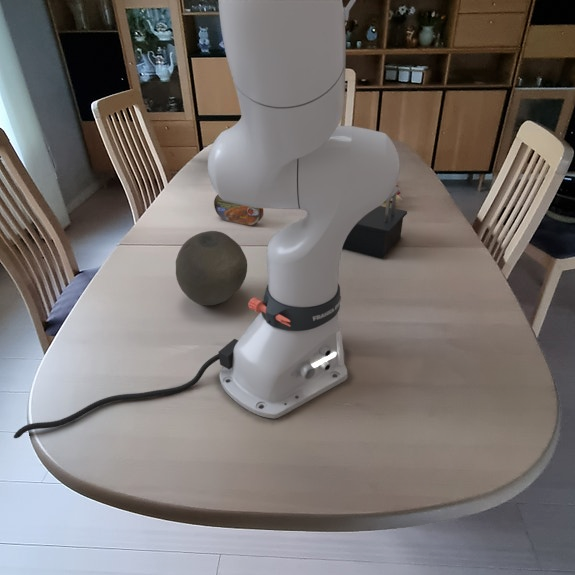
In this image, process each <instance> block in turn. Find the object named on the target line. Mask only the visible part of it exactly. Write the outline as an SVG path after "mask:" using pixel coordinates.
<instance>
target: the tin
mask: <svg viewBox="0 0 575 575" xmlns="http://www.w3.org/2000/svg"><path fill="white" fill-rule="evenodd" d="M213 207H214V210H215V212H216V214H217V215H218V217H219V218H220V219H221V220H222V221H225V222H230V223H235V224H240V225H244V226H253V225H256V224H257V223H258V222H260V221H261V220H262V219H263V216H264V208H253V207H248V206H243V205H239V204H235V203H231V202H227V201H224V200H222V199H221V198H220V196H219V195H218V194H216V195H215V198H214V201H213Z"/></svg>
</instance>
